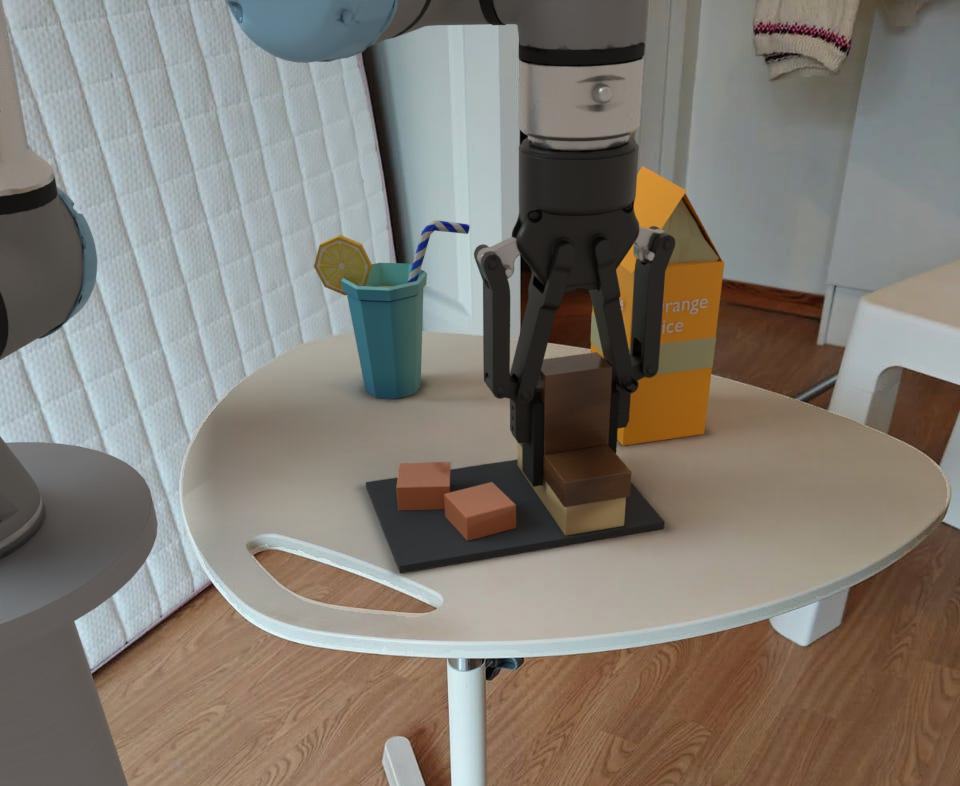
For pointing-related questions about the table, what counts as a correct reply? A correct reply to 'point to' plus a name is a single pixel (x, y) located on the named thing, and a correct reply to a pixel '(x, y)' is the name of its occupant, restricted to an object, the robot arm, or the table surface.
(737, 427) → the table surface
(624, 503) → the three-tone stepped block
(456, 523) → the clay chunk
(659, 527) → the mat
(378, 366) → the cup
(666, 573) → the table surface
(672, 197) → the orange juice
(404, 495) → the clay chunk
